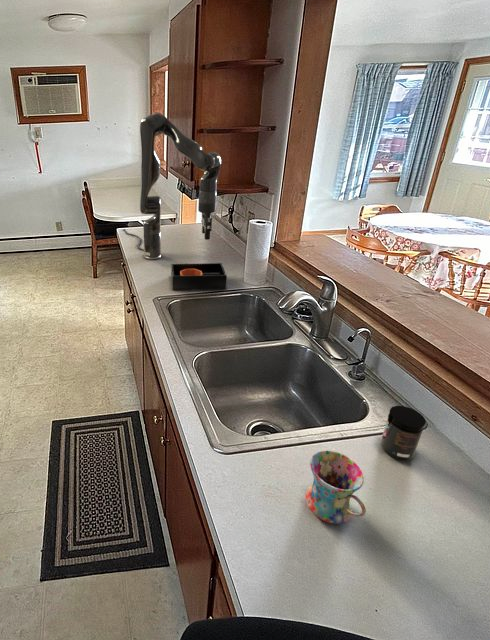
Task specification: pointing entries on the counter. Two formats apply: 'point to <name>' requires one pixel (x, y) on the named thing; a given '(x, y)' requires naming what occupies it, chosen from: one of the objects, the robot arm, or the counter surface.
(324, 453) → the mug
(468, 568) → the counter surface
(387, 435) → the supplement container
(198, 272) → the pan
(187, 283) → the black storage tray
